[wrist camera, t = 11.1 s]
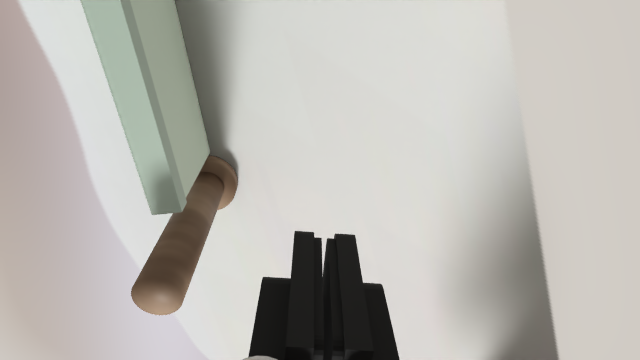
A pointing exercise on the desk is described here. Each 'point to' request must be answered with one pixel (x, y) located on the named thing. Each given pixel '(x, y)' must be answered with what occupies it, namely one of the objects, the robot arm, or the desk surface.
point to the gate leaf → (152, 94)
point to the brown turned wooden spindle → (184, 240)
